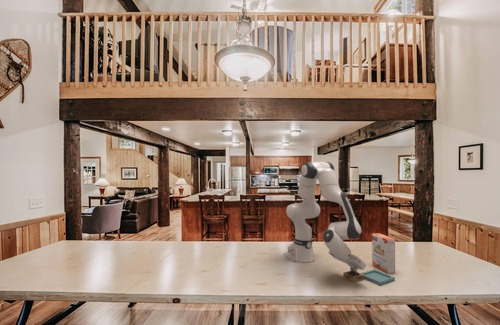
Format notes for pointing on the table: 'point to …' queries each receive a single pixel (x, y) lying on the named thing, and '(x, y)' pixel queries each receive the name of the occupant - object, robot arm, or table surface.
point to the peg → (353, 271)
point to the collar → (352, 278)
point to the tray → (378, 277)
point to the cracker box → (383, 253)
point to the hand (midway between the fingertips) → (354, 266)
